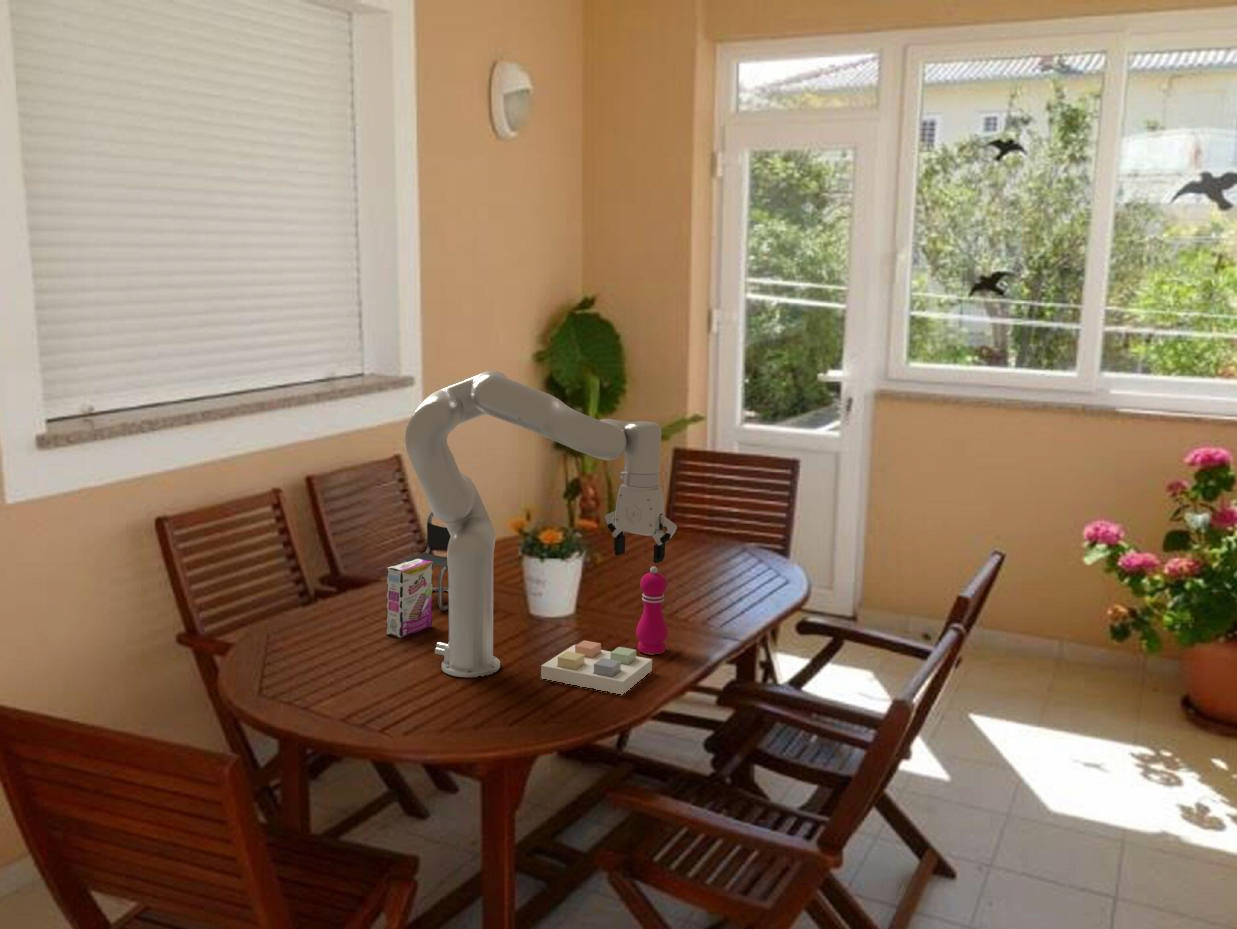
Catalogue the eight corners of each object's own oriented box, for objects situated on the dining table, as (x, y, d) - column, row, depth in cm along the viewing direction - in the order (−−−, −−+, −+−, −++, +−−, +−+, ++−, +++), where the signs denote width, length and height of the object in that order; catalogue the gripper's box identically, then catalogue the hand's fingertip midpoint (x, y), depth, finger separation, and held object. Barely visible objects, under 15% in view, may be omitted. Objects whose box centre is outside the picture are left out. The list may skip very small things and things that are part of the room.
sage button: (610, 663, 232) (610, 652, 231) (618, 657, 236) (618, 646, 235) (628, 666, 230) (628, 655, 230) (636, 660, 234) (636, 649, 233)
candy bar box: (402, 639, 251) (401, 570, 249) (386, 635, 254) (385, 567, 251) (433, 626, 261) (433, 560, 258) (418, 622, 263) (417, 557, 261)
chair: (477, 595, 287) (477, 514, 283) (441, 613, 271) (441, 527, 267) (435, 589, 292) (435, 509, 288) (397, 606, 276) (397, 522, 272)
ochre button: (557, 667, 228) (557, 657, 228) (566, 661, 232) (567, 651, 232) (575, 671, 226) (575, 660, 226) (584, 665, 230) (584, 654, 230)
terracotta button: (575, 656, 235) (575, 645, 235) (583, 650, 239) (583, 640, 239) (592, 659, 234) (592, 649, 233) (600, 653, 237) (601, 643, 237)
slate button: (593, 675, 225) (593, 664, 224) (602, 668, 228) (602, 657, 228) (611, 678, 223) (612, 667, 223) (620, 672, 227) (620, 661, 226)
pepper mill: (640, 657, 243) (643, 571, 240) (631, 646, 250) (634, 563, 247) (671, 655, 245) (674, 569, 242) (661, 644, 252) (664, 561, 249)
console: (541, 679, 229) (541, 665, 228) (573, 657, 242) (574, 644, 242) (622, 695, 221) (622, 681, 220) (651, 672, 234) (652, 659, 234)
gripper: (597, 477, 231) (595, 555, 234) (668, 487, 222) (665, 568, 225) (616, 472, 237) (614, 548, 240) (686, 482, 228) (682, 561, 231)
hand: (638, 558), depth 232 cm, fingers open, 9 cm apart
